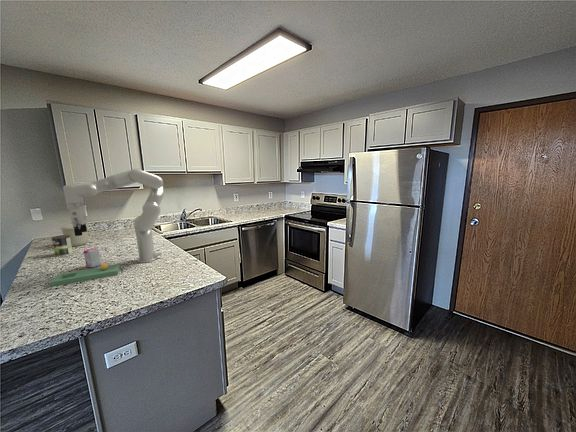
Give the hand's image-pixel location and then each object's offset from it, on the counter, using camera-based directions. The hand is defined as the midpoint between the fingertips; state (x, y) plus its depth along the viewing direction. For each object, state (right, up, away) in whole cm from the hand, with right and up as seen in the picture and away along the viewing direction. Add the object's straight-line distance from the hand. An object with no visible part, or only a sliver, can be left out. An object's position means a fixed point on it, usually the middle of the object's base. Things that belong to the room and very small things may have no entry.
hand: (81, 233), depth 142 cm
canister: (-60, -15, +64) cm, 89 cm away
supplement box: (-4, -23, +14) cm, 27 cm away
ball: (+13, -20, +1) cm, 24 cm away
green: (+6, -25, -2) cm, 26 cm away
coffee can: (-48, -19, +39) cm, 65 cm away
